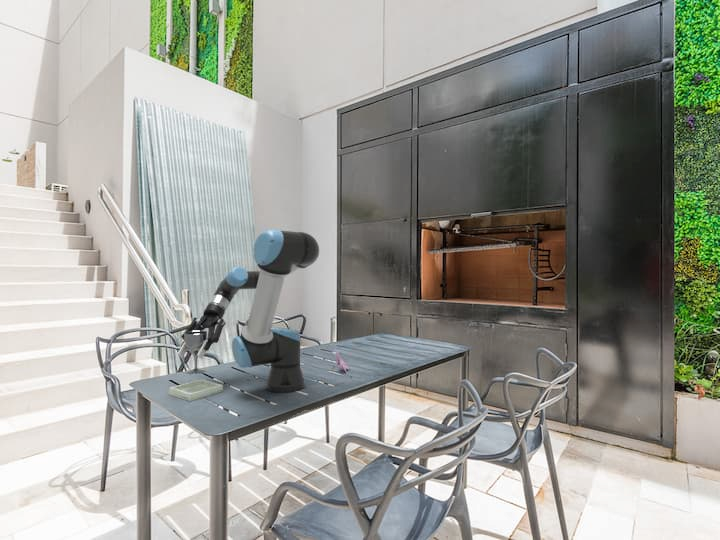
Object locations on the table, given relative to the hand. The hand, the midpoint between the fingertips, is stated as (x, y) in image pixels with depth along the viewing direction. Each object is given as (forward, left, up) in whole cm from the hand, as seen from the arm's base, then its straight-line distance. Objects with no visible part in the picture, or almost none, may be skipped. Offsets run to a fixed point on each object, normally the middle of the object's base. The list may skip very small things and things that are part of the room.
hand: (189, 356), depth 145 cm
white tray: (+1, -3, -14) cm, 15 cm away
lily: (-25, -59, -15) cm, 66 cm away
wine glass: (+1, -3, -7) cm, 8 cm away
